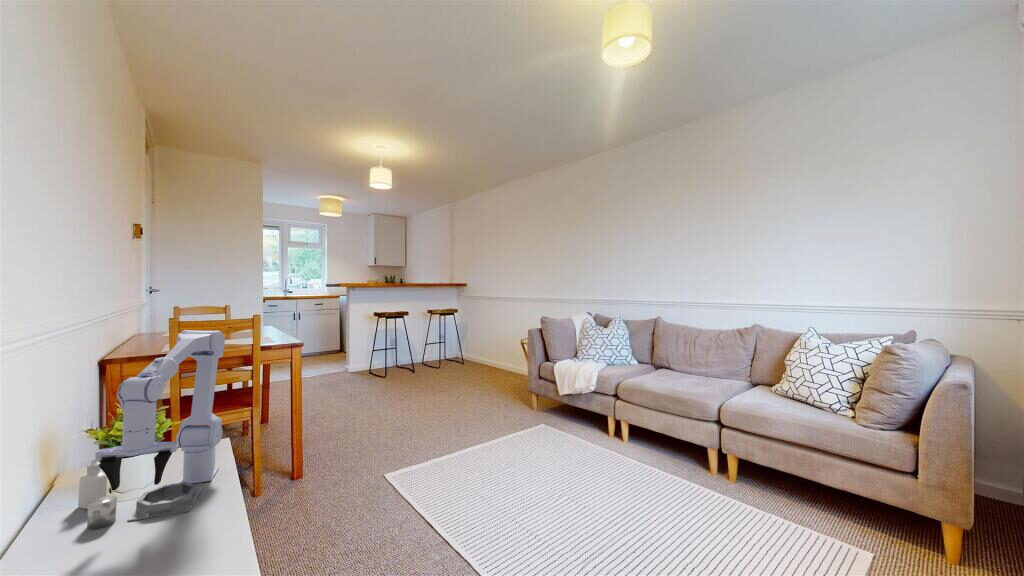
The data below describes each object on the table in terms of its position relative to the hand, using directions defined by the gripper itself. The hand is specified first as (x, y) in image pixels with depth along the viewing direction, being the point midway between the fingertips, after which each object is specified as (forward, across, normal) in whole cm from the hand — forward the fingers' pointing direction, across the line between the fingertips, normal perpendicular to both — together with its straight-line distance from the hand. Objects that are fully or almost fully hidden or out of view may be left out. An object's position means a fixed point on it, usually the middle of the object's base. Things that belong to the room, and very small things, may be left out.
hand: (137, 485), depth 95 cm
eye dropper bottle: (+10, -13, +15) cm, 23 cm away
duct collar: (+10, +4, +9) cm, 14 cm away
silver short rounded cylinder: (+10, -8, +4) cm, 13 cm away
